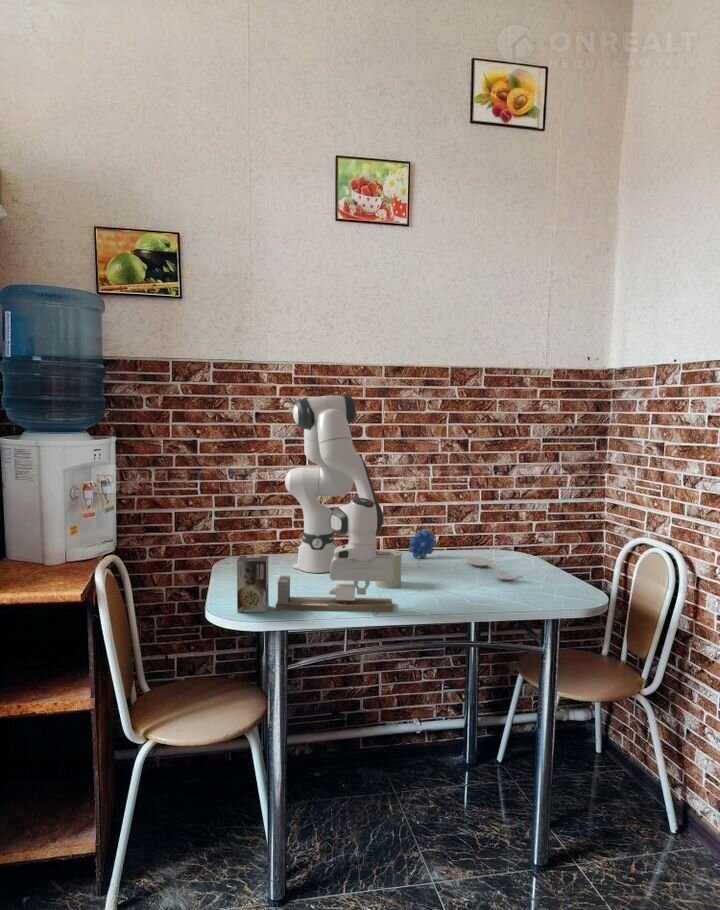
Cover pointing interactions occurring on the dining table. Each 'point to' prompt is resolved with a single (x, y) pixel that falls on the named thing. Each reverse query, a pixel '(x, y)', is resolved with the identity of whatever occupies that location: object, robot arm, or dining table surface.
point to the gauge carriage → (343, 591)
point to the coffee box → (252, 584)
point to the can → (397, 572)
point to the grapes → (422, 544)
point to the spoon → (483, 562)
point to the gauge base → (327, 601)
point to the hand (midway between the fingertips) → (361, 594)
